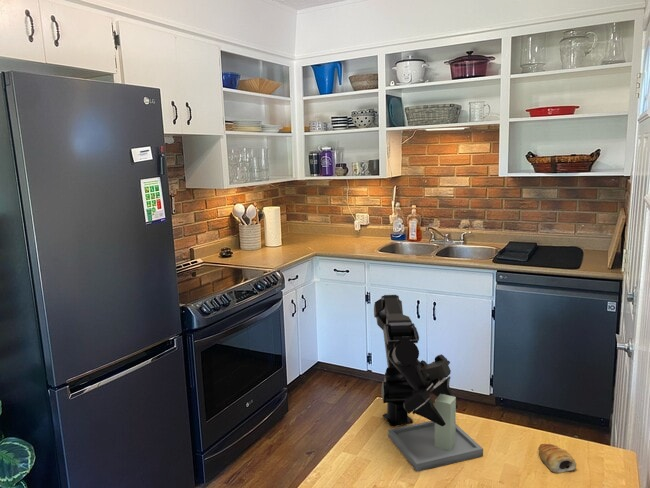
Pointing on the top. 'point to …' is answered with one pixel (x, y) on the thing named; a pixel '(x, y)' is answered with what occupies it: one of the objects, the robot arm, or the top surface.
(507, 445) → the top surface
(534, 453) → the top surface
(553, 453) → the pastry
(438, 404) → the block
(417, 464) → the tray
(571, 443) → the top surface
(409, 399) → the robot arm
